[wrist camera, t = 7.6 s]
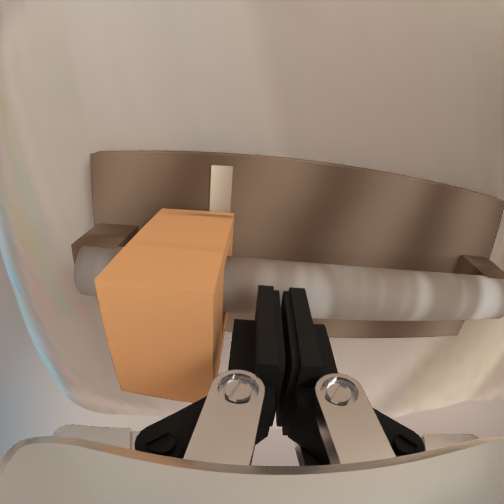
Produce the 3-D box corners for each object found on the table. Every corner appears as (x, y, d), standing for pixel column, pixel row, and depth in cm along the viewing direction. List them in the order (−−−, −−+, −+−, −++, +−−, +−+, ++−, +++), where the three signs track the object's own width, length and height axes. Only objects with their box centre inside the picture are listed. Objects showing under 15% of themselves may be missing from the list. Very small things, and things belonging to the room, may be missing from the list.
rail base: (496, 197, 15) (549, 226, 10) (451, 327, 19) (483, 373, 14) (99, 151, 15) (41, 169, 10) (114, 307, 19) (80, 359, 14)
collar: (234, 213, 14) (213, 293, 8) (229, 300, 16) (213, 405, 10) (161, 208, 14) (94, 279, 8) (165, 294, 16) (121, 390, 10)
